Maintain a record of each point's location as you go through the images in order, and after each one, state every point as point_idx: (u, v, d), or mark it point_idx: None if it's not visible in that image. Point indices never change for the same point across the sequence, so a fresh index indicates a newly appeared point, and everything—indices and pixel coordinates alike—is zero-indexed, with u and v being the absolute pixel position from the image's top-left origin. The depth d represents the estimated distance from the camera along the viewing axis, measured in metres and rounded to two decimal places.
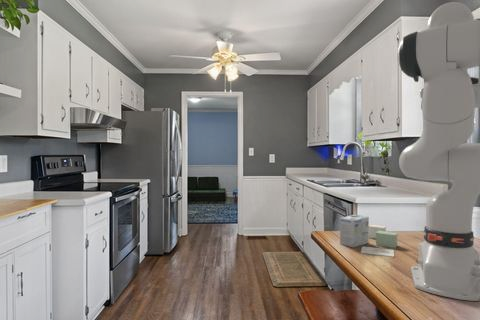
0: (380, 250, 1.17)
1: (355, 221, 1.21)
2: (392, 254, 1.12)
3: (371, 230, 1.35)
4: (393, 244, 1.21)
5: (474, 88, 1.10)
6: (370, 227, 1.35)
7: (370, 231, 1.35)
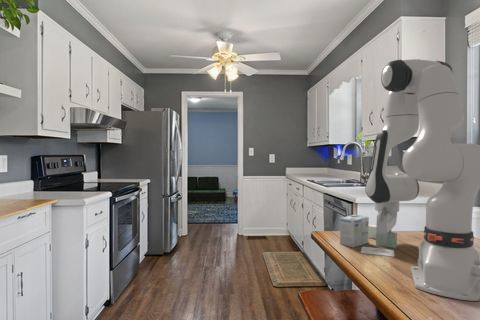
0: (380, 250, 1.17)
1: (355, 221, 1.21)
2: (392, 254, 1.12)
3: (371, 230, 1.35)
4: (393, 244, 1.21)
5: (396, 211, 1.28)
6: (370, 227, 1.35)
7: (370, 231, 1.35)
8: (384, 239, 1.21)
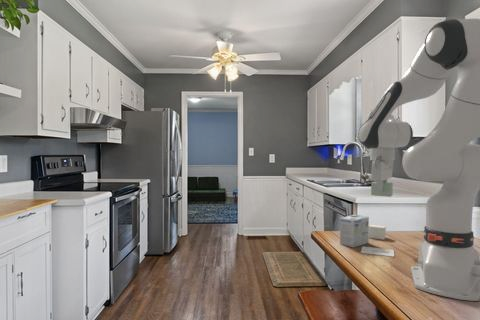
0: (380, 250, 1.17)
1: (355, 221, 1.21)
2: (392, 254, 1.12)
3: (371, 230, 1.35)
4: (388, 193, 1.21)
5: (392, 163, 1.28)
6: (370, 227, 1.35)
7: (370, 231, 1.35)
8: (379, 188, 1.21)
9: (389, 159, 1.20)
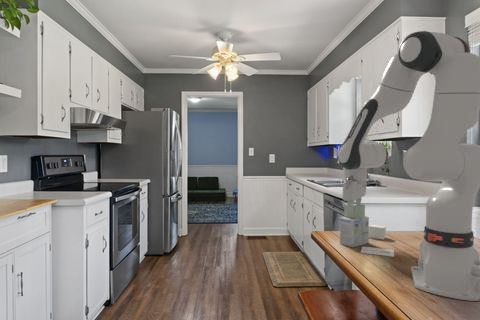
0: (380, 250, 1.17)
1: (355, 221, 1.21)
2: (392, 254, 1.12)
3: (371, 230, 1.35)
4: (360, 215, 1.23)
5: (365, 181, 1.30)
6: (370, 227, 1.35)
7: (370, 231, 1.35)
8: (350, 208, 1.22)
9: (361, 179, 1.22)
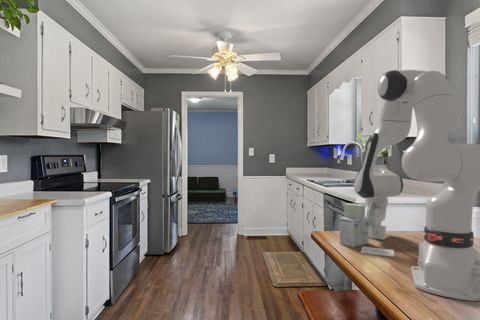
0: (380, 250, 1.17)
1: (355, 221, 1.21)
2: (392, 254, 1.12)
3: (371, 230, 1.35)
4: (360, 215, 1.23)
5: (385, 206, 1.39)
6: (370, 227, 1.35)
7: (370, 231, 1.35)
8: (374, 232, 1.33)
9: (382, 205, 1.31)
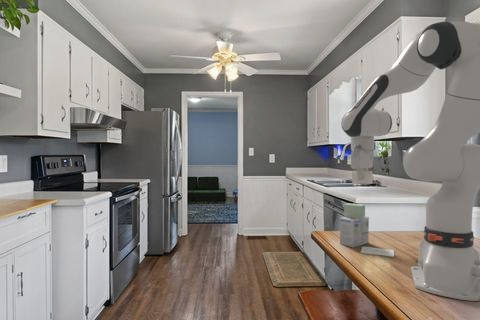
0: (380, 250, 1.17)
1: (355, 221, 1.21)
2: (392, 254, 1.12)
3: (357, 175, 1.28)
4: (360, 215, 1.23)
5: (372, 152, 1.32)
6: (356, 172, 1.28)
7: (356, 176, 1.28)
8: (359, 176, 1.26)
9: (368, 148, 1.24)
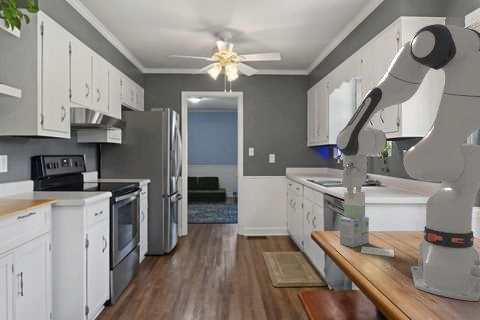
0: (380, 250, 1.17)
1: (355, 221, 1.21)
2: (392, 254, 1.12)
3: None
4: (360, 215, 1.23)
5: (365, 169, 1.30)
6: None
7: None
8: (350, 195, 1.22)
9: (361, 166, 1.22)
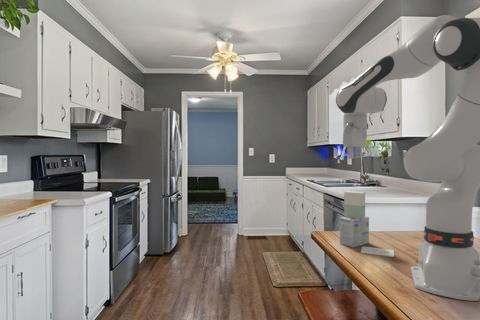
0: (380, 250, 1.17)
1: (355, 221, 1.21)
2: (392, 254, 1.12)
3: (349, 196, 1.25)
4: (359, 215, 1.23)
5: (365, 131, 1.29)
6: (348, 193, 1.25)
7: (348, 197, 1.26)
8: (350, 155, 1.21)
9: (361, 126, 1.21)
